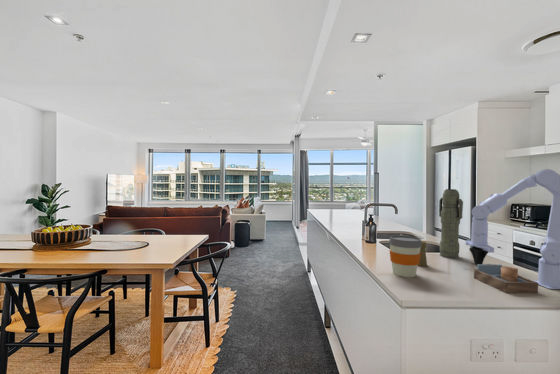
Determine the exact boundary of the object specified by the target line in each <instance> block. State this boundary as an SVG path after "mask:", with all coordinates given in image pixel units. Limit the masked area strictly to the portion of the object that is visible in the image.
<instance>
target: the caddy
mask: <svg viewBox="0 0 560 374" xmlns="http://www.w3.org/2000/svg"><path fill="white" fill-rule="evenodd" d="M518 278H519V279H522V280H525V281H527V282H505V281H502V280H500V279H498V278H495V277H493V276H491V275H488V274H486V273H484V272H481V271H479V270H477V268H476V269H475V268H474V269H473V279H476V280H477V281H480V282H482V283H484V284H486V285H488V286H491V287H492V288H494V289H497V290H498V291H501V292H503V293H504V294H505V293H507V294H508V293H509V294H510V293H511V294H513V293H514V294H517V293H521V294H523V293H528V294H531V293H532V294H535V293H536V294H537V293H539V284H538V283H537V282H535V281H536V280H531V279H530V278H526V277H523V276H521V275H519V274H518Z"/></svg>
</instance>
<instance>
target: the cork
mask: <svg viewBox="0 0 560 374" xmlns="http://www.w3.org/2000/svg"><path fill="white" fill-rule="evenodd" d="M421 245H422V246H421V248H420V253H421V254H420V260H419V264H418V266H417V267H427V266H428V262H427V251H426V249H427V247H428V245H427V242H426V241H424V240H421Z"/></svg>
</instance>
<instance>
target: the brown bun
mask: <svg viewBox="0 0 560 374" xmlns="http://www.w3.org/2000/svg"><path fill="white" fill-rule="evenodd" d="M518 272H519V269H518V268H516V267H512V266H508V265H507V266H505V265H504V266H503V265H502V267H501V279H502V280H505V281H507V282H518V275H519V273H518Z"/></svg>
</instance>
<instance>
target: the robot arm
mask: <svg viewBox="0 0 560 374" xmlns="http://www.w3.org/2000/svg"><path fill="white" fill-rule="evenodd" d="M538 185H539V186H541V187H543V188H545V189H546V190H547V191H548V192H549V193H551V195H552V201H551V206H550V213H549V219H548V223H547V230H546V234H545V238H544V242H543V244H542V245H541V246H540V249H539V253H540V254H541V258H539V259H538V271H537V272H538V275H537V280H534V281H535V282H537V283H538V286H542V287H544V288H547V289H549V290H560V174H559V173H558V172H556V171H555V170H553V169H550V168H546V169H540V170H539V171H537V172H536V173H534V174H533V173H532V175H529V176H526V177H524V178H522V179H521V180H520V181H517V182H516V184H514V185H512V186H511V187H509V188H508V189H506V190H505V191H504V192H502V193H498V192H497V193H494V194H493V193H492V194H490V195H489V197H487V198H486V199H485V200H484V201H479V202H478V204H479V205H475V206H474V207H473V208H472V209H471V215H472V219H471V220H472V222H471V236H470V237H471V238H470V239H471V240H468V239H467V240H465V245H466V246H470V247H469V251H470V253H471V255H472V259H473V262H474V265H475V266H476V267H477V264H483V263H484V261H485V259H486V257H487V255H488V254H489V253H495V247H493V246H491V245H489V244H488V238H489V237H488V233H489V232H488V231H489V223H488V216H489V214H494V213H495V212H497V211H498V210H500V209H502V208H503V207H505V206H507V204H508V200H509V199H511V198H512V197H514V196H516V195H518V194H520V193H521V192H523V191H525V190H526V189H527V188H534V187H537V186H538Z"/></svg>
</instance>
